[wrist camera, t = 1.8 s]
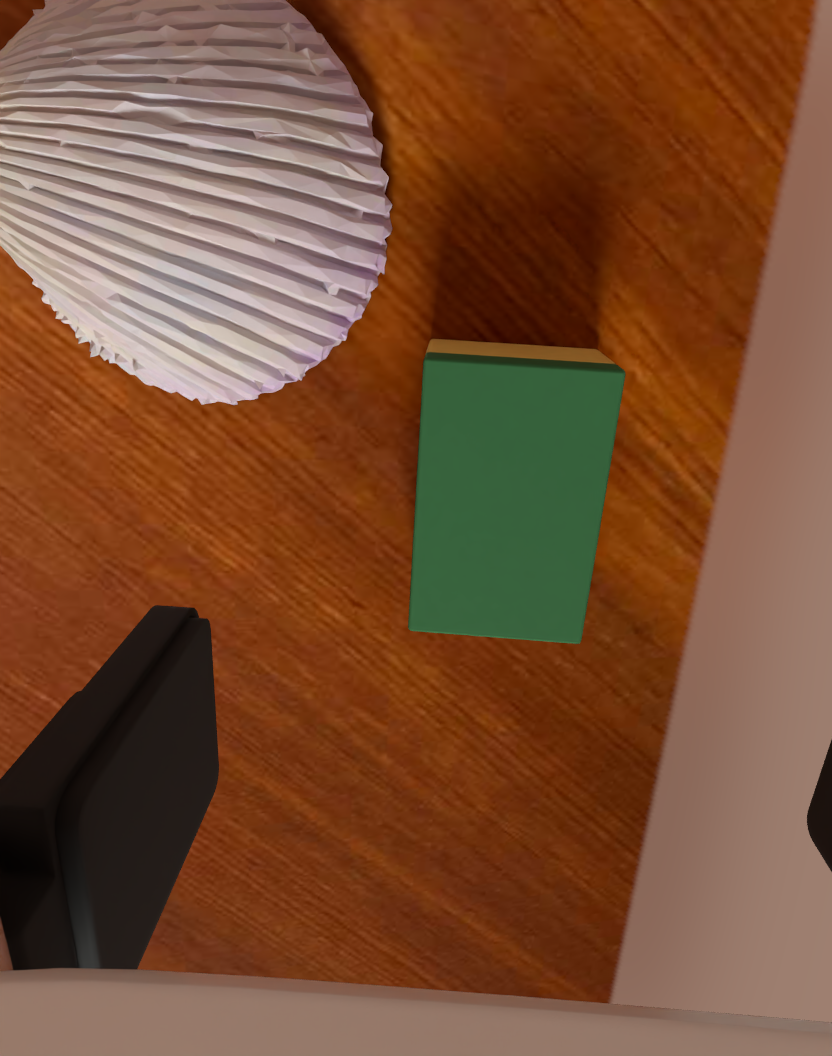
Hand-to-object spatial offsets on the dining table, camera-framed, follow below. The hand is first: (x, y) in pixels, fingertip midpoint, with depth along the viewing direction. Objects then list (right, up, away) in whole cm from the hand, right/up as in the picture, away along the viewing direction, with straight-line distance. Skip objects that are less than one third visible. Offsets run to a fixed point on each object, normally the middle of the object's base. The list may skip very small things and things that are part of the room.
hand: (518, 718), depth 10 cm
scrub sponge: (+1, +4, +10) cm, 11 cm away
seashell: (-7, +11, +8) cm, 16 cm away
